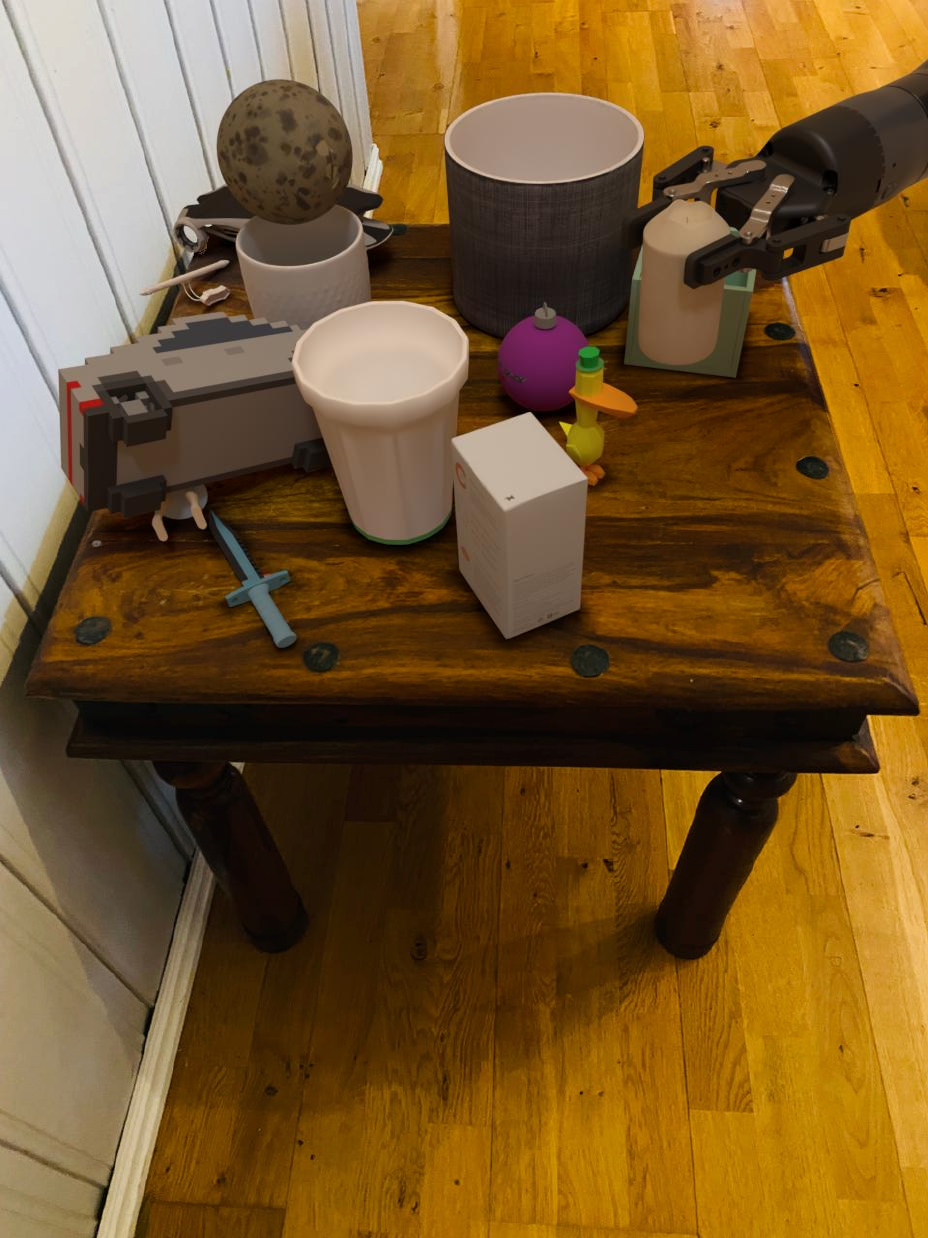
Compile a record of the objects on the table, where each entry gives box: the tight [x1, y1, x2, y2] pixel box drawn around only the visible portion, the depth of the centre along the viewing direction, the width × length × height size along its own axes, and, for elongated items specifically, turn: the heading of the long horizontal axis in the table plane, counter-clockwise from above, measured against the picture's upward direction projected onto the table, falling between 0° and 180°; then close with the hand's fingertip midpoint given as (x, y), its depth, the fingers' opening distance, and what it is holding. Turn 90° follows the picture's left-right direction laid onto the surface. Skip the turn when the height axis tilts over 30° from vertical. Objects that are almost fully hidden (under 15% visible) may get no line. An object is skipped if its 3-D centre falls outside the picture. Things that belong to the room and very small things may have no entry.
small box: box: [451, 411, 589, 640], centre depth 70 cm, size 8×6×13 cm
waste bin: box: [623, 226, 757, 379], centre depth 90 cm, size 10×10×9 cm
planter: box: [443, 92, 646, 339], centre depth 94 cm, size 18×18×16 cm
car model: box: [172, 183, 394, 254], centre depth 106 cm, size 11×24×5 cm, turn 66°
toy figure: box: [558, 346, 639, 487], centre depth 77 cm, size 7×4×12 cm, turn 53°
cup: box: [291, 300, 470, 546], centre depth 75 cm, size 12×12×15 cm
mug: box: [235, 205, 372, 330], centre depth 90 cm, size 15×11×13 cm
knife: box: [208, 509, 298, 649], centre depth 76 cm, size 17×1×5 cm
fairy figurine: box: [151, 484, 208, 542], centre depth 80 cm, size 12×5×12 cm
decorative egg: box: [216, 78, 354, 225], centre depth 82 cm, size 11×11×15 cm
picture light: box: [139, 259, 231, 306], centre depth 101 cm, size 14×4×2 cm, turn 154°
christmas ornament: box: [496, 302, 590, 413], centre depth 85 cm, size 8×8×10 cm
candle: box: [638, 199, 730, 365], centre depth 67 cm, size 6×6×10 cm
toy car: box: [57, 311, 333, 520], centre depth 77 cm, size 9×24×10 cm
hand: (656, 253), depth 63 cm, fingers closed on candle, 5 cm apart
